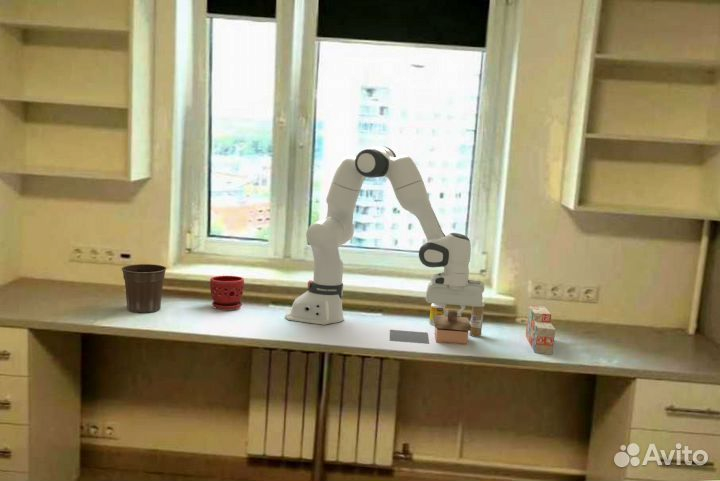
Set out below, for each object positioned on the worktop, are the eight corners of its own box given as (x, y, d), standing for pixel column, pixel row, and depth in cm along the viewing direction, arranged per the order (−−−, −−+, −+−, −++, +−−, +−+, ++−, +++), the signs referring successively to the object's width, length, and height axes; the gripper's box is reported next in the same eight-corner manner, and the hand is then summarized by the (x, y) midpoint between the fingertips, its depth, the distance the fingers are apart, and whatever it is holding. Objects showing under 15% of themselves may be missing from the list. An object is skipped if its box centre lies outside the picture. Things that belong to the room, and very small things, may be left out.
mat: (389, 341, 248) (389, 340, 248) (389, 330, 262) (389, 329, 262) (429, 344, 248) (429, 343, 248) (427, 333, 261) (427, 332, 261)
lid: (435, 327, 248) (436, 314, 248) (433, 318, 261) (434, 305, 260) (470, 330, 248) (472, 317, 247) (467, 321, 260) (468, 308, 259)
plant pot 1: (111, 308, 267) (112, 266, 264) (146, 301, 280) (147, 261, 277) (139, 317, 257) (140, 274, 255) (174, 309, 271) (175, 268, 268)
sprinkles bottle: (467, 335, 262) (471, 300, 260) (470, 332, 267) (473, 298, 265) (480, 337, 261) (483, 302, 259) (482, 334, 265) (486, 299, 263)
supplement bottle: (435, 327, 270) (437, 301, 269) (426, 323, 275) (428, 298, 273) (446, 326, 273) (448, 300, 272) (437, 322, 278) (439, 297, 276)
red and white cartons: (552, 354, 246) (556, 320, 244) (534, 353, 246) (538, 319, 245) (541, 337, 267) (545, 305, 265) (525, 336, 268) (528, 304, 266)
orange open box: (436, 343, 250) (437, 329, 249) (434, 334, 261) (435, 321, 260) (467, 345, 250) (468, 332, 249) (464, 336, 260) (465, 323, 260)
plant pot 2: (248, 305, 284) (249, 276, 282) (234, 313, 272) (236, 282, 270) (217, 301, 287) (219, 273, 285) (203, 309, 274) (204, 279, 273)
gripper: (483, 279, 254) (480, 316, 257) (427, 275, 255) (424, 312, 257) (486, 283, 248) (482, 321, 250) (427, 278, 249) (424, 316, 251)
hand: (452, 316), depth 254 cm, fingers open, 3 cm apart
